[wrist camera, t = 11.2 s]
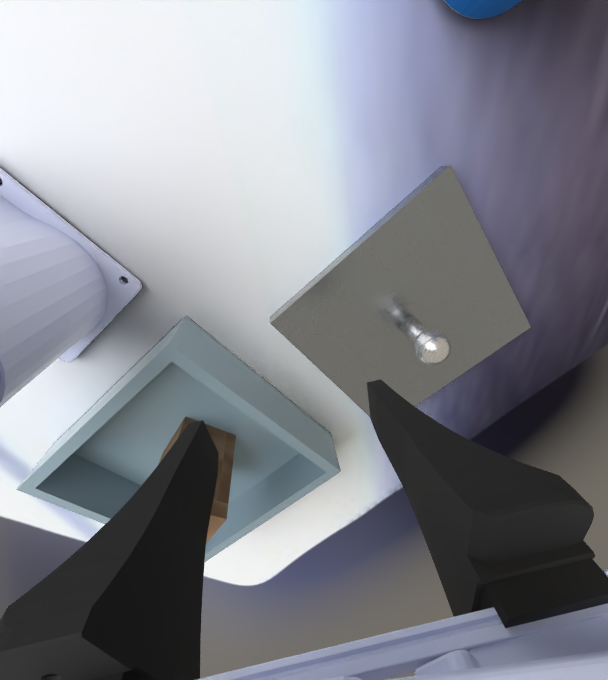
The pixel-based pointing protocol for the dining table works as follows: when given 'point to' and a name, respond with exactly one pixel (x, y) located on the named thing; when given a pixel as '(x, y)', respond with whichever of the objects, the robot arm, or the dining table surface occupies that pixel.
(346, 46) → the dining table surface
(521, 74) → the dining table surface
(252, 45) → the dining table surface
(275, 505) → the bin
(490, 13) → the beverage can
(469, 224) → the stud base
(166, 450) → the brown wooden block
